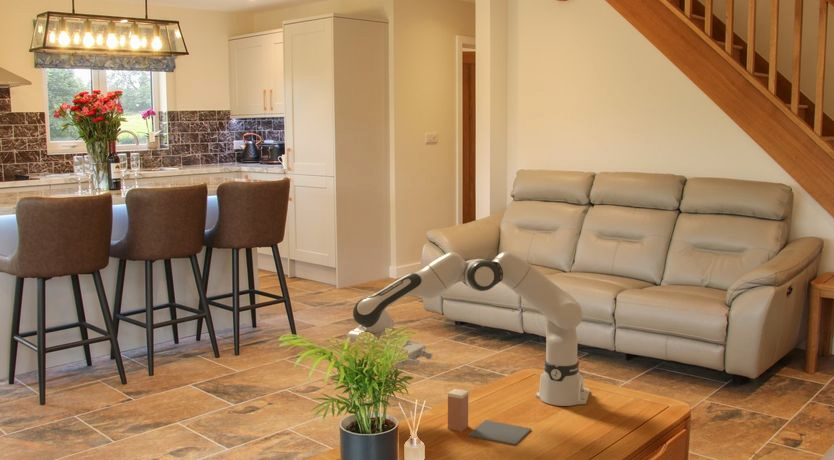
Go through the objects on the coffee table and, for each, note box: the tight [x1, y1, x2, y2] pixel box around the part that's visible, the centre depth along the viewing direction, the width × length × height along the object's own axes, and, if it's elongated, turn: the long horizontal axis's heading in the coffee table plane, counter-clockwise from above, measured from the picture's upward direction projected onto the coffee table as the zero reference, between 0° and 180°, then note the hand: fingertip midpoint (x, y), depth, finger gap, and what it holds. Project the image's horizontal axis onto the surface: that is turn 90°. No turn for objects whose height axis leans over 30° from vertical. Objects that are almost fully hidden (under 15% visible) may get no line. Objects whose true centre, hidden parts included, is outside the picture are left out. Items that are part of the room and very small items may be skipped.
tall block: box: [447, 388, 469, 432], centre depth 259 cm, size 5×5×12 cm
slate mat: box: [467, 419, 532, 446], centre depth 255 cm, size 14×16×1 cm
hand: (425, 359), depth 261 cm, fingers open, 8 cm apart
